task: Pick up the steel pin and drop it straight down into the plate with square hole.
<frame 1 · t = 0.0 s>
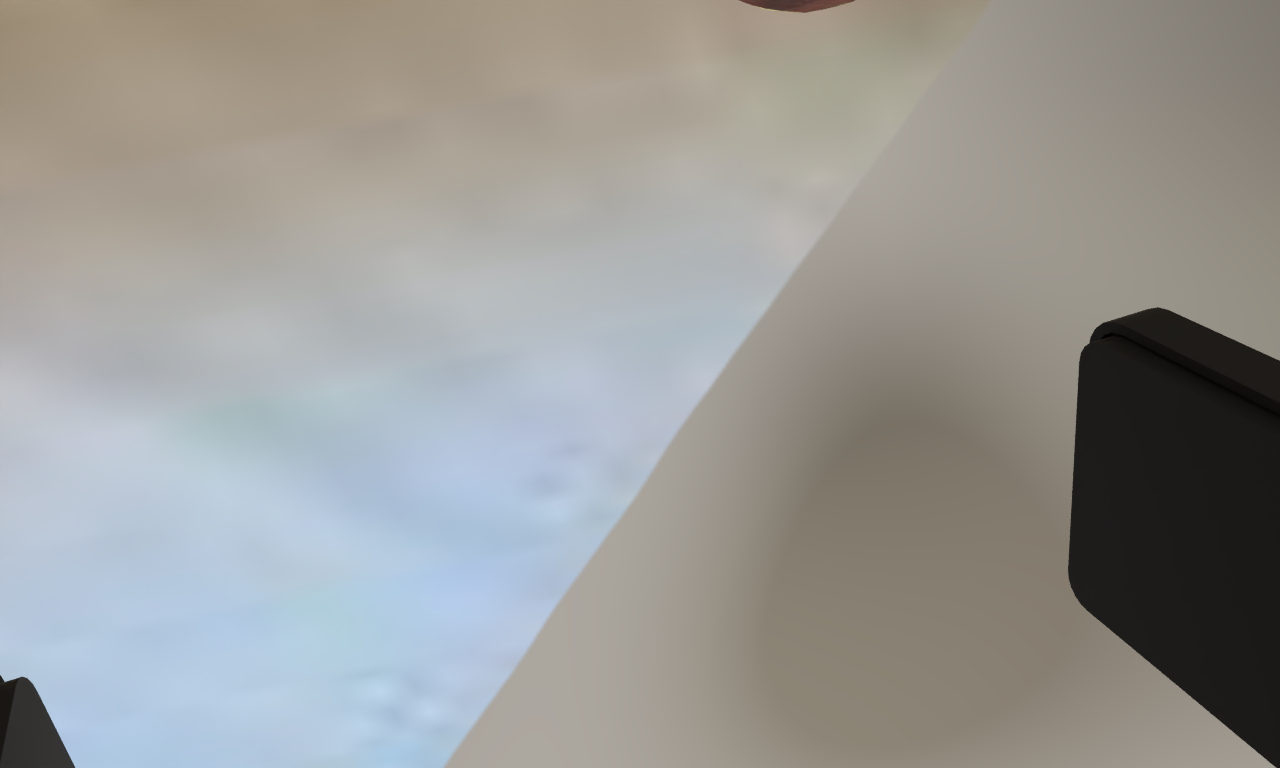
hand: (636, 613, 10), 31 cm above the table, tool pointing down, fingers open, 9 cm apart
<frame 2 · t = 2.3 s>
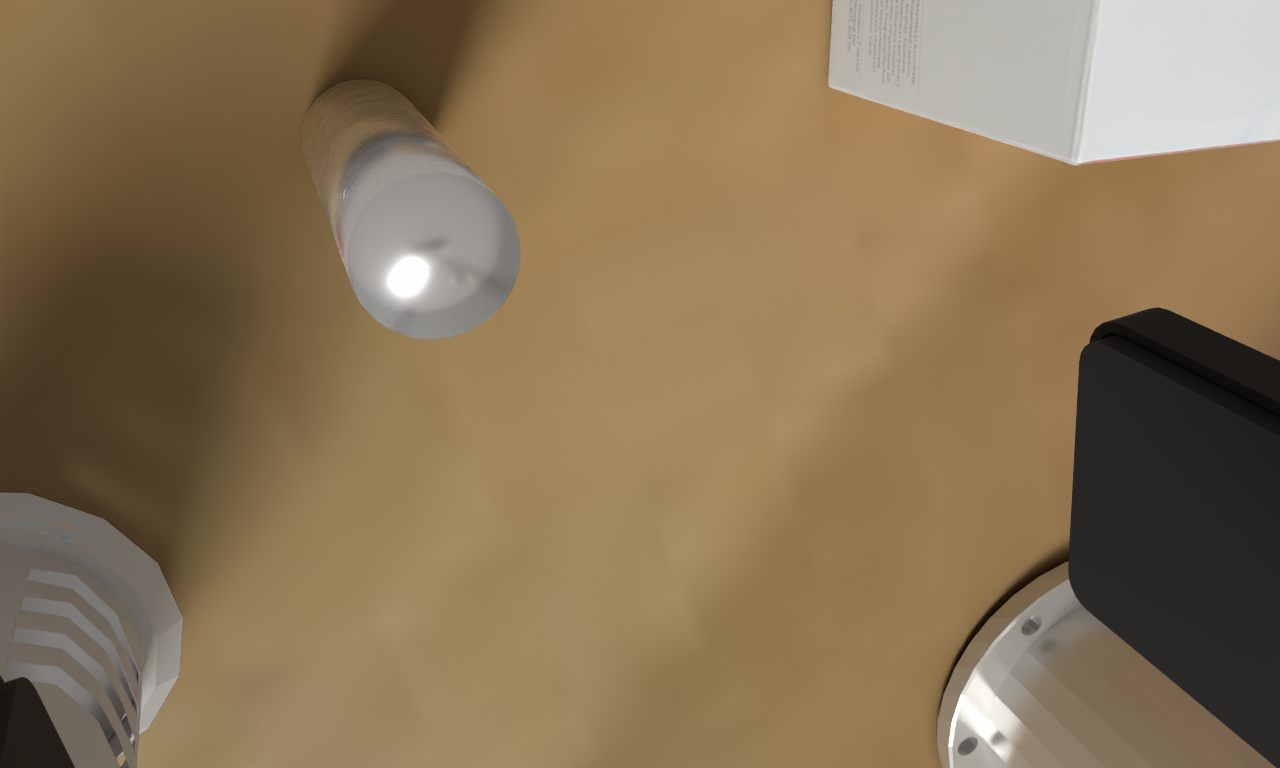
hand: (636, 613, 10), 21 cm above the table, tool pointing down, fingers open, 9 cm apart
steel pin: (364, 140, 28), on the table
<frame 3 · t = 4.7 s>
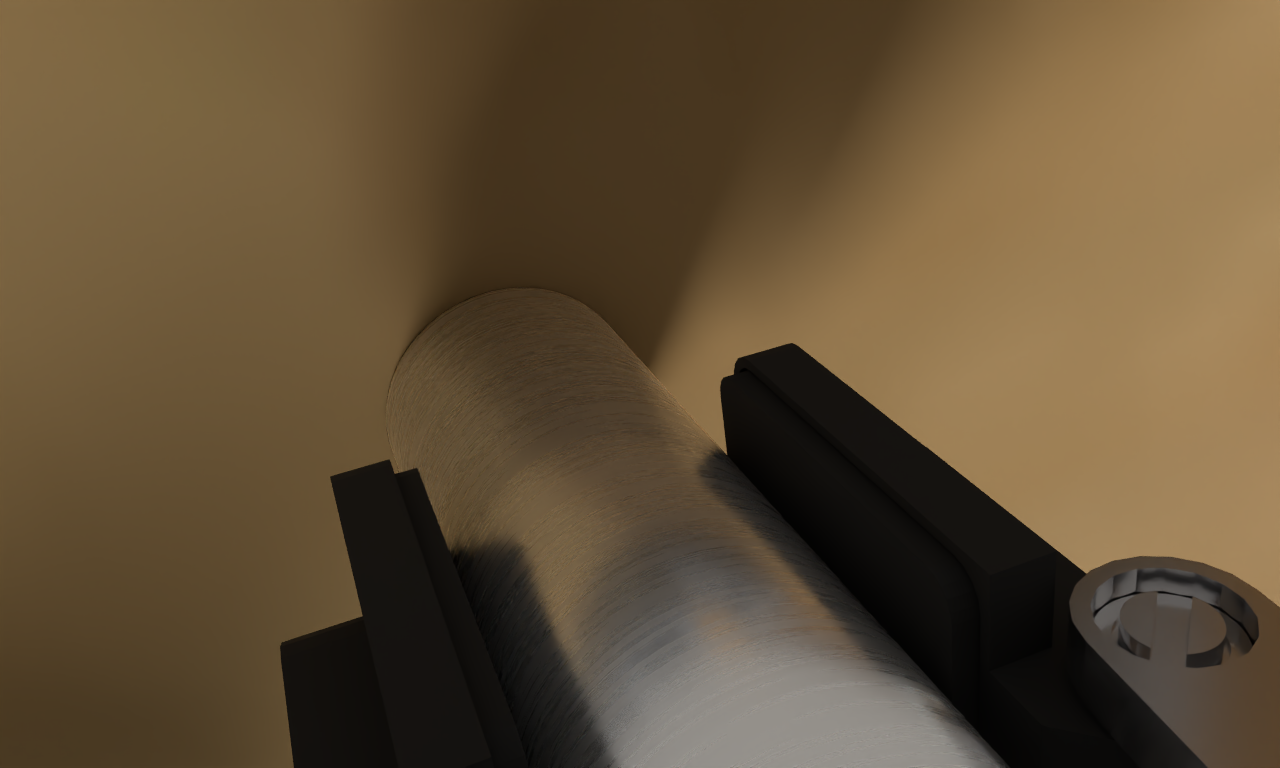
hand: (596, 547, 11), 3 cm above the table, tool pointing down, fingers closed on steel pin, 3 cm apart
steel pin: (513, 407, 13), on the table, touching gripper
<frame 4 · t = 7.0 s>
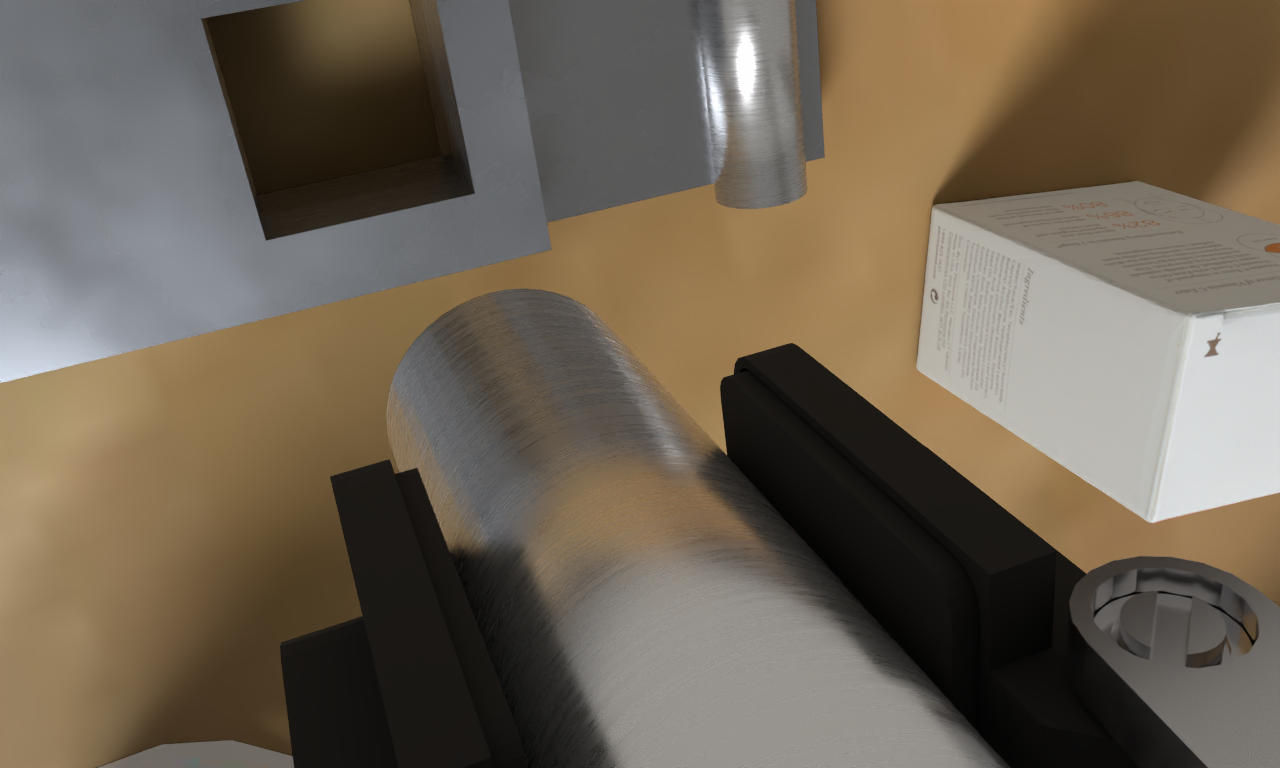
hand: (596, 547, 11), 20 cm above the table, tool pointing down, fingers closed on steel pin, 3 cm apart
small box: (1021, 270, 37), on the table
plate with square hole: (328, 81, 27), on the table
steel pin: (513, 408, 13), point 17 cm above the table, touching gripper
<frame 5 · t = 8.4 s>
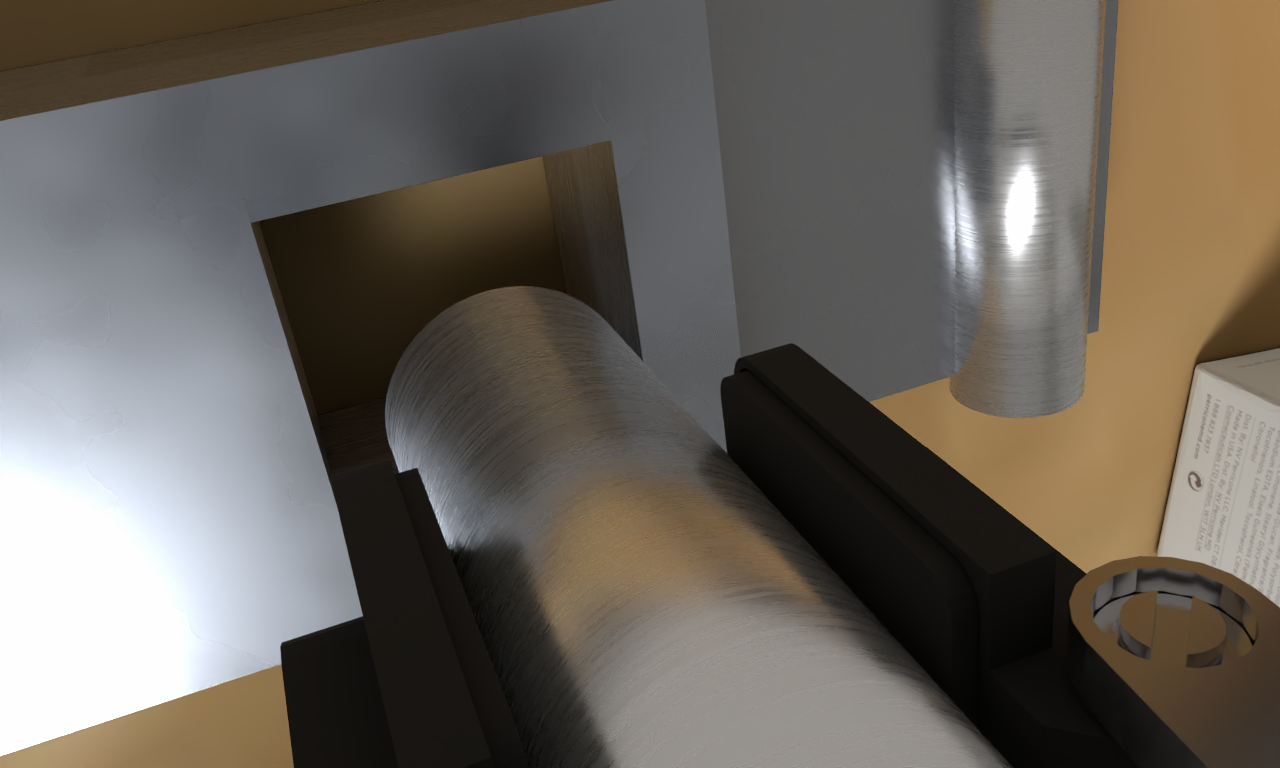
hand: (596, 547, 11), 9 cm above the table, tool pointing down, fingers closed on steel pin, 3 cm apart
plate with square hole: (421, 256, 19), on the table
steel pin: (512, 405, 13), point 6 cm above the table, touching gripper
when the fingers open (5 cm above the table, at t = 9.5 s): steel pin drops 2 cm, resting in plate with square hole.
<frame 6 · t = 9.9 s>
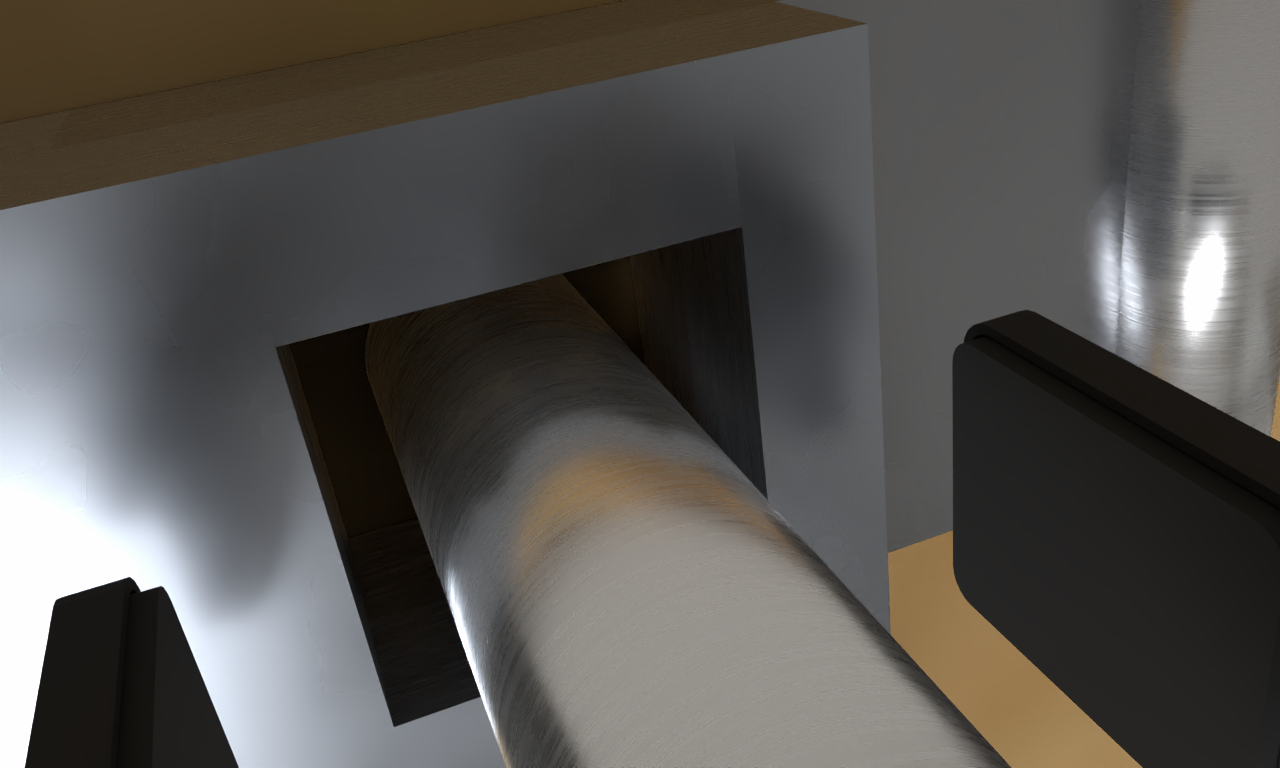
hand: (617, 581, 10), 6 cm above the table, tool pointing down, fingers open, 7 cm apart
plate with square hole: (476, 346, 15), on the table
steel pin: (478, 348, 15), resting in plate with square hole
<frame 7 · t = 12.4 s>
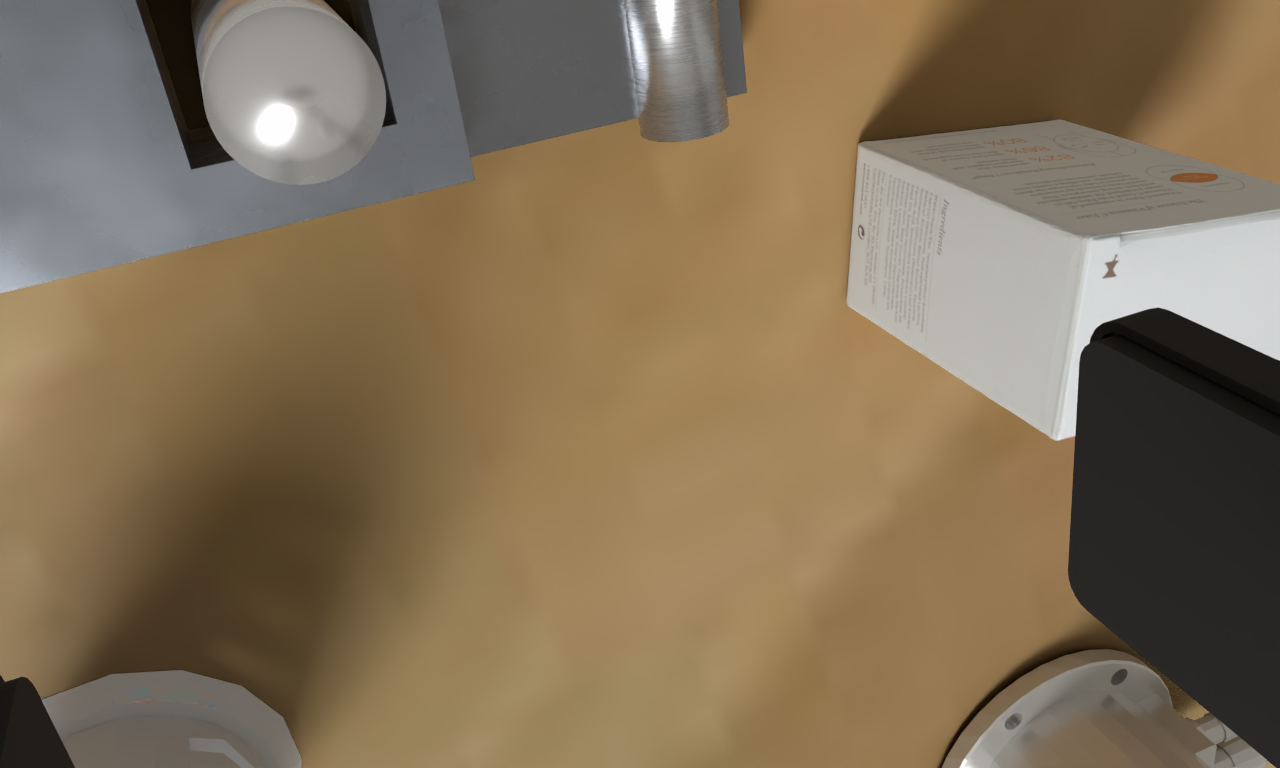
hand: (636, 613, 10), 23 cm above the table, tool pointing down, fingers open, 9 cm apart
small box: (948, 208, 38), on the table
plate with square hole: (254, 17, 28), on the table
steel pin: (256, 19, 28), resting in plate with square hole
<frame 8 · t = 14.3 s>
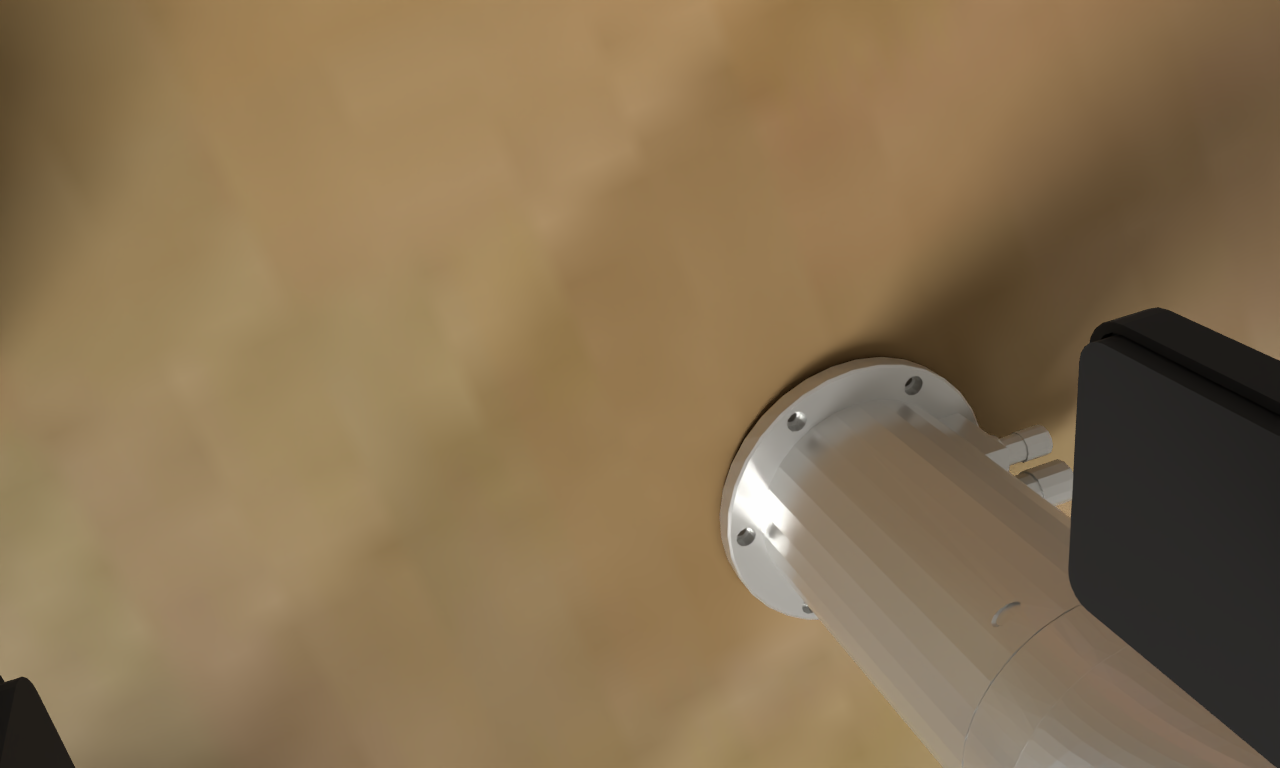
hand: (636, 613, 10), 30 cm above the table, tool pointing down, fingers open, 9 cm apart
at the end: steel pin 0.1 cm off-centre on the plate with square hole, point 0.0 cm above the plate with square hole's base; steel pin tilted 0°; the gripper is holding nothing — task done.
